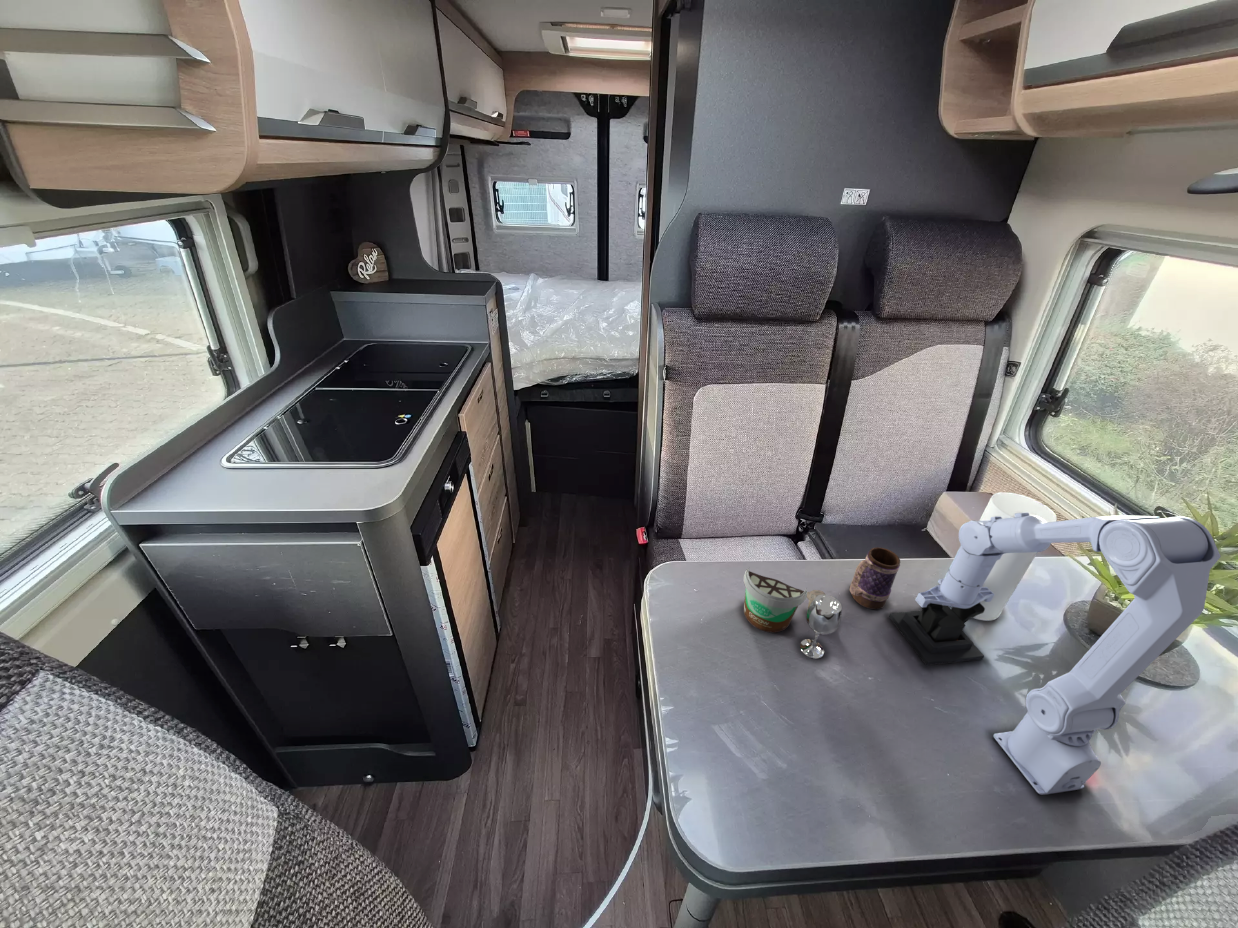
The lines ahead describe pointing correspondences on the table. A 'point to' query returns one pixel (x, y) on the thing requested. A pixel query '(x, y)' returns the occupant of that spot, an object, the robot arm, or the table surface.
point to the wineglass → (821, 623)
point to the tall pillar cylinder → (1010, 564)
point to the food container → (770, 602)
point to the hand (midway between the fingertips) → (938, 627)
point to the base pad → (928, 648)
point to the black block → (946, 627)
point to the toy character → (813, 595)
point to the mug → (875, 578)
